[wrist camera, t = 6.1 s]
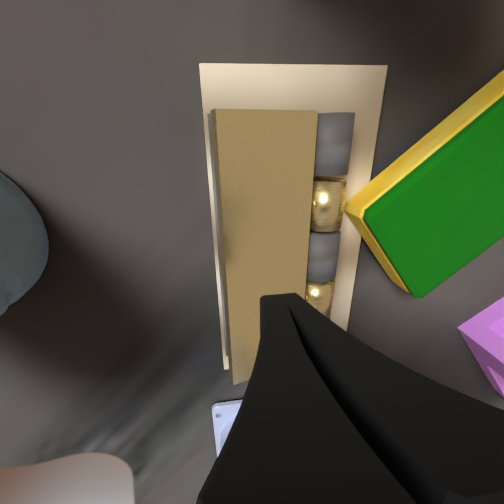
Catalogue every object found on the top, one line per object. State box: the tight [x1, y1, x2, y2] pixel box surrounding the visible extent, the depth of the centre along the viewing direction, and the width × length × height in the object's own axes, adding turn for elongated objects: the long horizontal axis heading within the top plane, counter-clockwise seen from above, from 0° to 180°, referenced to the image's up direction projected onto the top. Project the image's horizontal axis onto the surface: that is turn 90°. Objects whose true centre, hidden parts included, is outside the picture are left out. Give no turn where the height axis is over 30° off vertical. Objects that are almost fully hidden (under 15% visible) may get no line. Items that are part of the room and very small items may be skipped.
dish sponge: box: [344, 70, 504, 298], centre depth 15 cm, size 7×14×2 cm, turn 130°
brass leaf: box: [210, 108, 347, 385], centre depth 14 cm, size 14×7×2 cm, turn 1°
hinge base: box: [199, 63, 388, 369], centre depth 15 cm, size 18×9×3 cm, turn 1°
